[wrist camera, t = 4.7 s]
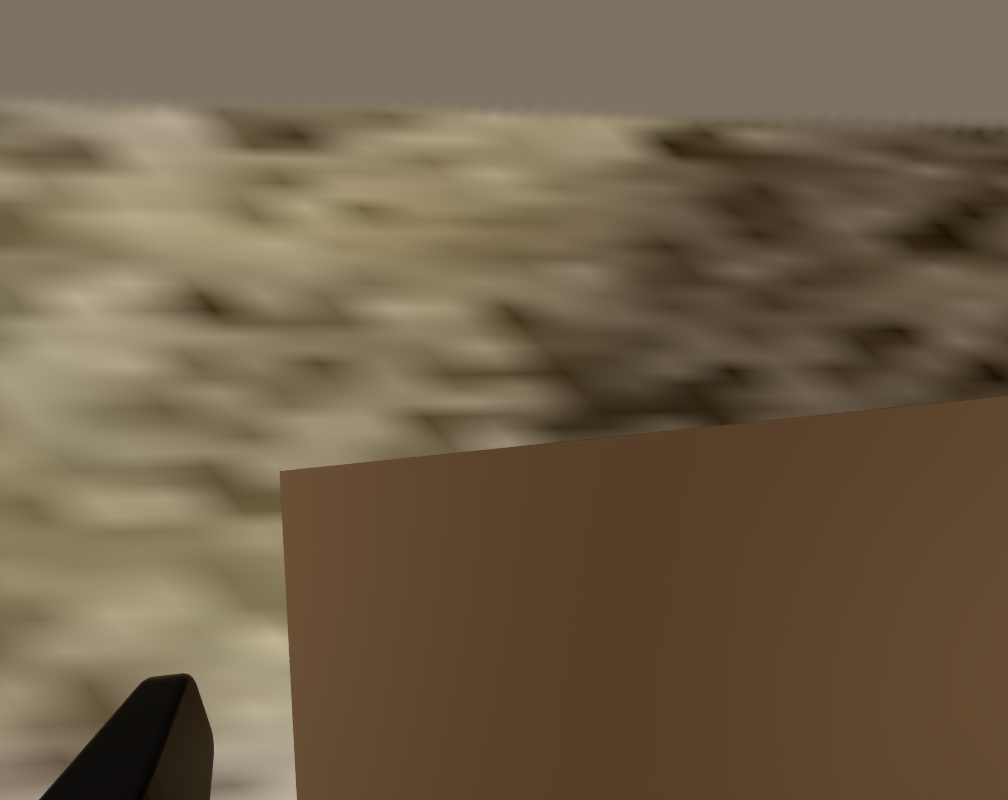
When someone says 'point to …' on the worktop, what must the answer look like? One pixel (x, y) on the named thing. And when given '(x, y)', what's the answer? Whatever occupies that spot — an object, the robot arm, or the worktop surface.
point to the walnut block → (660, 615)
